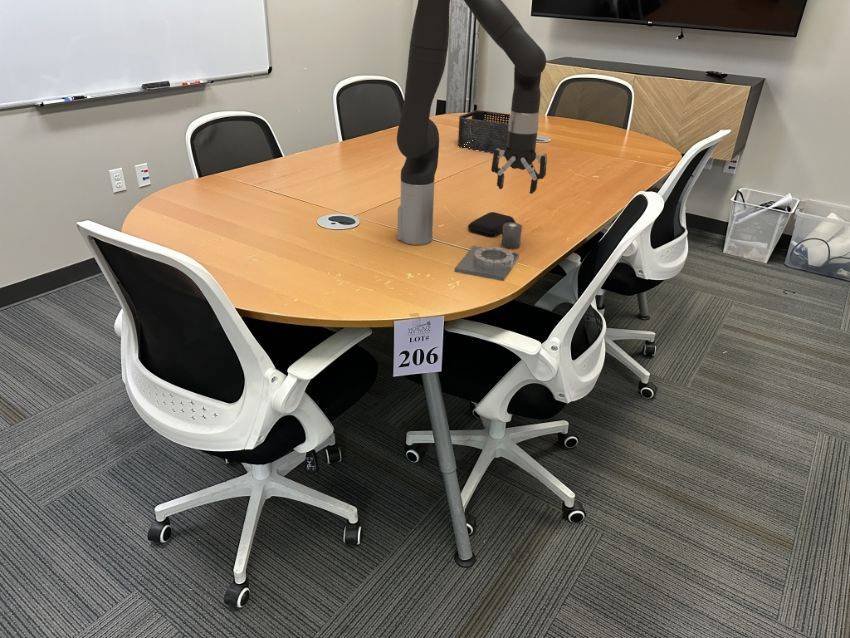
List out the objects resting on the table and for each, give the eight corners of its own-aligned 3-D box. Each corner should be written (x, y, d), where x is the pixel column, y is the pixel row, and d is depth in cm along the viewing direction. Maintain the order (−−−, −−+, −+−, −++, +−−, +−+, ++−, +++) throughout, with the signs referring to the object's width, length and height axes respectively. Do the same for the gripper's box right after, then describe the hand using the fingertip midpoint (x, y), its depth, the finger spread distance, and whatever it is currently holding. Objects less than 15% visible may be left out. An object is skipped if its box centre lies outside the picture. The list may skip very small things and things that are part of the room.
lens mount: (454, 271, 157) (455, 260, 155) (472, 249, 170) (473, 239, 168) (503, 280, 153) (504, 269, 152) (518, 257, 166) (519, 246, 165)
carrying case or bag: (496, 240, 177) (519, 226, 187) (497, 230, 175) (521, 217, 186) (465, 232, 182) (489, 218, 193) (465, 222, 180) (490, 209, 191)
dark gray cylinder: (499, 247, 172) (501, 226, 169) (503, 240, 176) (505, 220, 173) (517, 250, 170) (519, 229, 167) (521, 243, 174) (524, 223, 171)
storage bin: (454, 147, 268) (456, 115, 262) (475, 139, 283) (477, 109, 276) (514, 158, 255) (517, 125, 249) (532, 149, 270) (536, 117, 263)
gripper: (492, 129, 156) (487, 190, 164) (547, 135, 152) (539, 198, 160) (499, 123, 162) (494, 183, 170) (553, 129, 158) (545, 190, 166)
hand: (516, 190), depth 165 cm, fingers open, 8 cm apart
